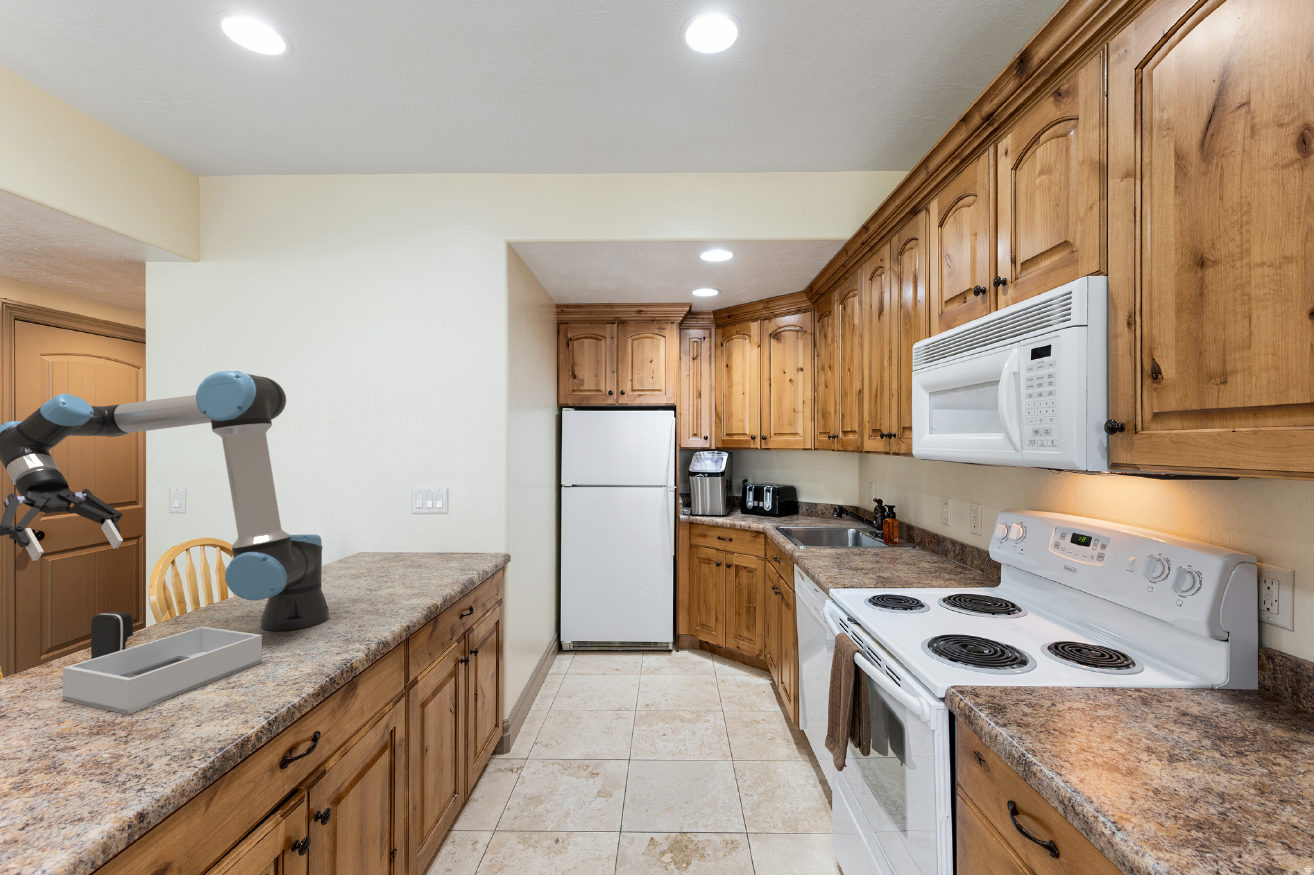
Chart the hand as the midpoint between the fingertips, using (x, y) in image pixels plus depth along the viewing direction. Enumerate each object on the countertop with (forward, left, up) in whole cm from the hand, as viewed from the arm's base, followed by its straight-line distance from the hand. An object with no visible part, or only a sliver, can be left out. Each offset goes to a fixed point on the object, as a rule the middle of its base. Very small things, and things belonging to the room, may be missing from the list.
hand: (80, 550), depth 122 cm
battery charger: (0, +11, -24) cm, 27 cm away
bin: (+1, +30, -24) cm, 38 cm away
